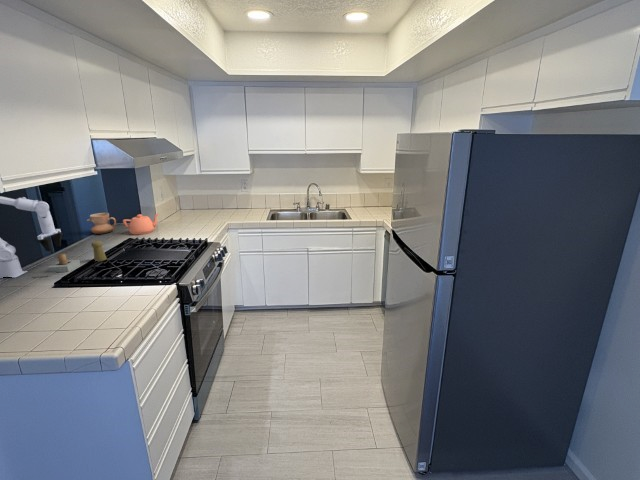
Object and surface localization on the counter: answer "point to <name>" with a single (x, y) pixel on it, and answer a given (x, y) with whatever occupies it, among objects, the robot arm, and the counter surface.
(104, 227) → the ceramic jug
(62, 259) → the peg
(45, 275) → the pad
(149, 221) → the teapot
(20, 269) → the robot arm
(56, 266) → the socket
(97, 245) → the olive pepper mill
